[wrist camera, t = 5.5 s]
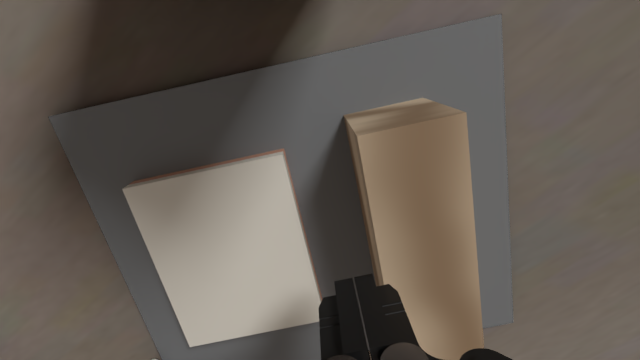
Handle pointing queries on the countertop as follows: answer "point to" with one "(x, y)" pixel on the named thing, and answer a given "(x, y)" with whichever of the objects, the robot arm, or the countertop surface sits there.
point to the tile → (229, 247)
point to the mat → (298, 163)
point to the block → (421, 217)
